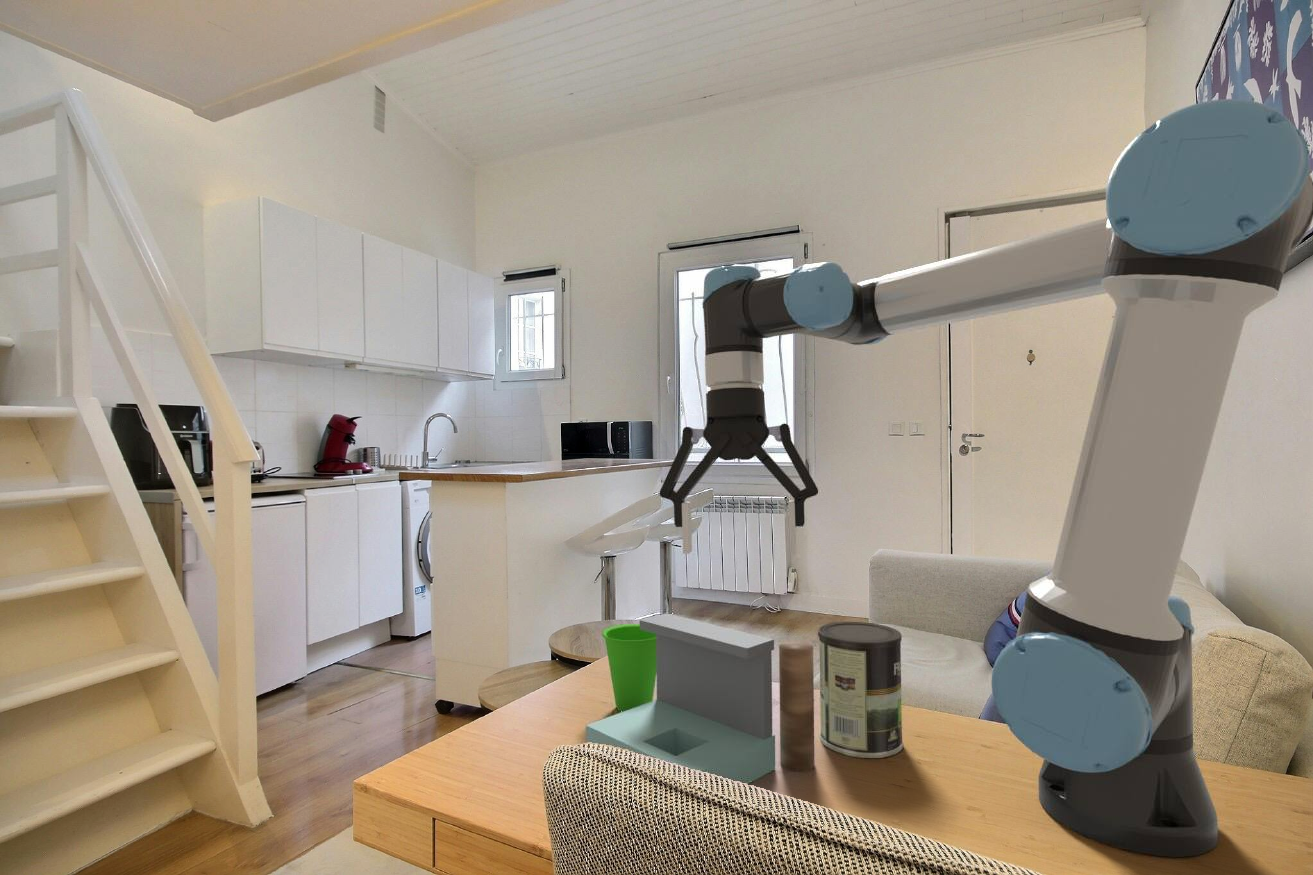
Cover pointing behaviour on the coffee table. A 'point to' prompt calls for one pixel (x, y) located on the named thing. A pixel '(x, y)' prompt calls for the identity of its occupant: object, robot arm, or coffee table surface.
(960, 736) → the coffee table surface
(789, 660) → the peg
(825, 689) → the coffee can
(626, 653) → the cup
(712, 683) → the socket station
